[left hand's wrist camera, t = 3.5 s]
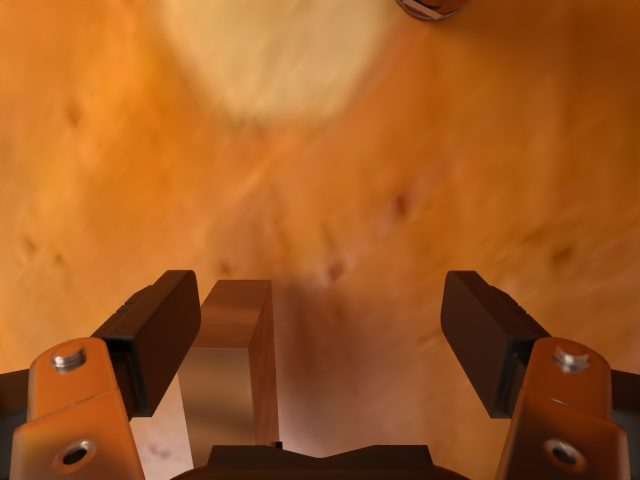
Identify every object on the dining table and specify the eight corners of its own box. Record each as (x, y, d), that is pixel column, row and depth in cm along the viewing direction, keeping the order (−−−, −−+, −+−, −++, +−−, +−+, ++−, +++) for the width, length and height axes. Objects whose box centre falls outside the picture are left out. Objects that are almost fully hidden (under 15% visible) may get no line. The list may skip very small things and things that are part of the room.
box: (218, 279, 38) (172, 347, 27) (271, 279, 38) (248, 348, 27) (236, 449, 47) (208, 556, 35) (280, 450, 46) (265, 557, 35)
